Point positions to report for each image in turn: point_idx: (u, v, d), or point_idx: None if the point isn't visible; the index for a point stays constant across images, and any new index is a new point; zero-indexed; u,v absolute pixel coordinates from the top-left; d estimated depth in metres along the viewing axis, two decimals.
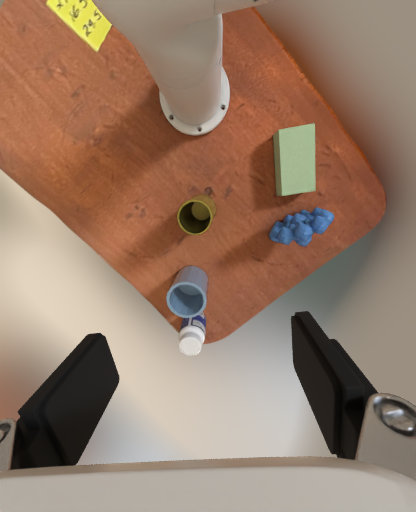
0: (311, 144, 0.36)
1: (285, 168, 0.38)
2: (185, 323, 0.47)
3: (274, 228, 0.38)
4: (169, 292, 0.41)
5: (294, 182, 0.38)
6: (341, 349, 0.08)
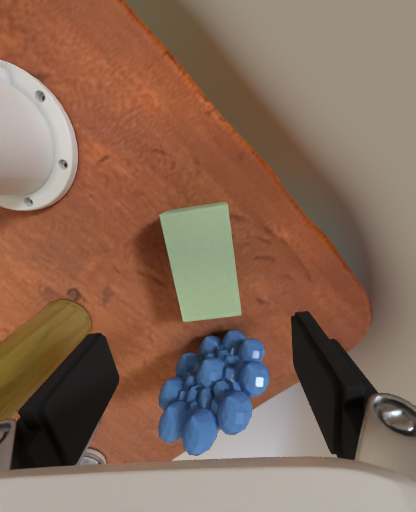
0: (224, 240, 0.19)
1: (182, 280, 0.20)
2: None
3: (165, 387, 0.21)
4: None
5: (201, 302, 0.21)
6: (341, 349, 0.08)
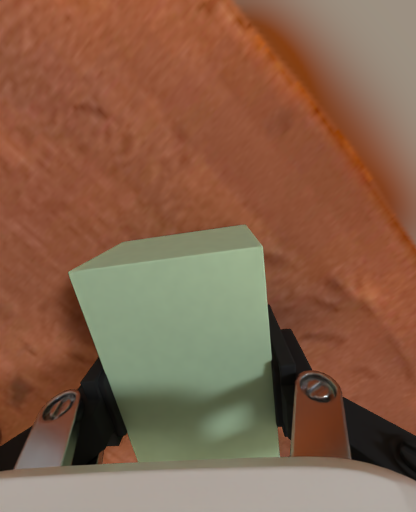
0: (250, 340, 0.07)
1: (142, 418, 0.08)
2: None
3: None
4: None
5: None
6: (293, 337, 0.09)
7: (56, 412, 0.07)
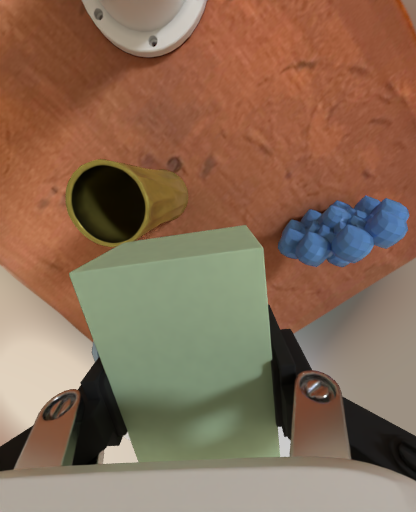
0: (251, 341, 0.07)
1: (142, 419, 0.08)
2: None
3: (289, 233, 0.20)
4: None
5: None
6: (292, 337, 0.09)
7: (56, 412, 0.07)
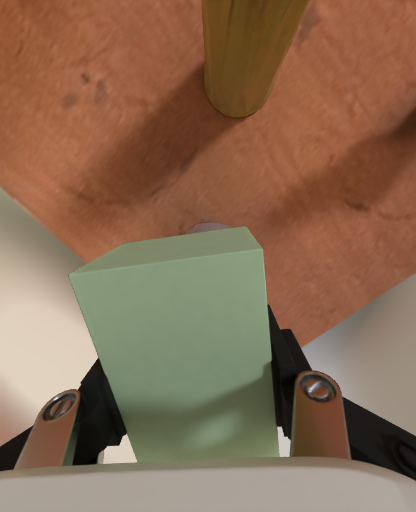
0: (250, 342, 0.07)
1: (142, 420, 0.08)
2: None
3: None
4: None
5: None
6: (292, 337, 0.09)
7: (56, 412, 0.07)
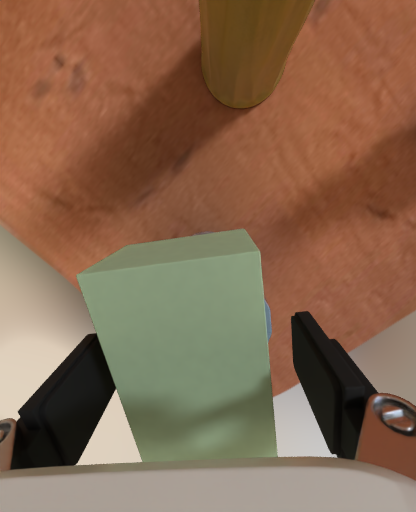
0: (248, 339, 0.07)
1: (145, 415, 0.09)
2: None
3: None
4: None
5: (190, 456, 0.09)
6: (341, 349, 0.08)
7: None
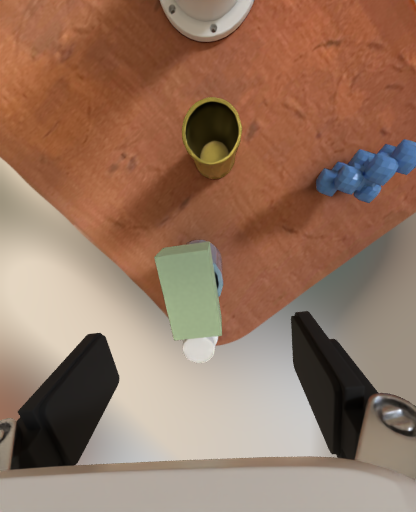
0: (206, 277, 0.24)
1: (173, 307, 0.25)
2: None
3: (326, 173, 0.26)
4: None
5: (188, 324, 0.25)
6: (341, 349, 0.08)
7: None
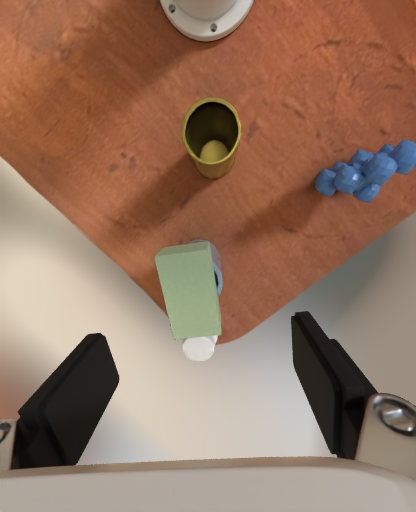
0: (206, 276, 0.24)
1: (172, 306, 0.25)
2: None
3: (325, 172, 0.26)
4: None
5: (188, 323, 0.26)
6: (341, 349, 0.08)
7: None
